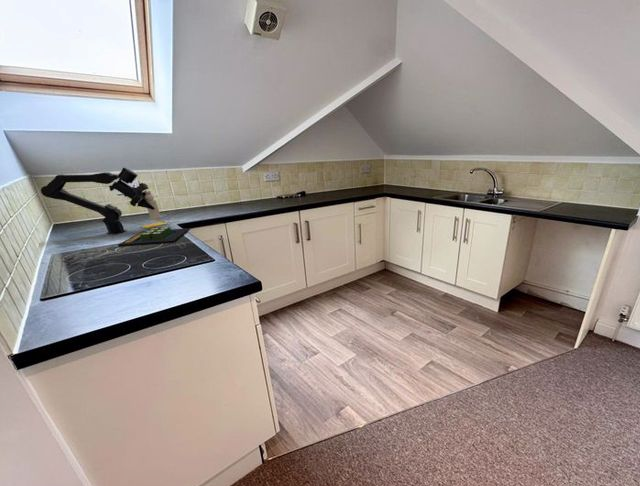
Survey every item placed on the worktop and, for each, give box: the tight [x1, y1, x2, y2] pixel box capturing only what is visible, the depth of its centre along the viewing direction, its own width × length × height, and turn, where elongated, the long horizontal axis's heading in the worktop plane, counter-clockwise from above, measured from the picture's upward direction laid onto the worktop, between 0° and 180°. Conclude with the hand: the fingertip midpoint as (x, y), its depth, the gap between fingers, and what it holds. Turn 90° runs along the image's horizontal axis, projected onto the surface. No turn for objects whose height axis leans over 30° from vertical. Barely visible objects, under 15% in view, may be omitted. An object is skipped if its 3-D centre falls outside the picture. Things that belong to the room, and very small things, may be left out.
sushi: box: [117, 226, 191, 247], centre depth 160 cm, size 25×25×4 cm
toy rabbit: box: [144, 190, 162, 221], centre depth 173 cm, size 5×5×17 cm
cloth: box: [140, 221, 169, 229], centre depth 185 cm, size 12×8×1 cm, turn 154°
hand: (155, 208), depth 174 cm, fingers closed on toy rabbit, 5 cm apart
